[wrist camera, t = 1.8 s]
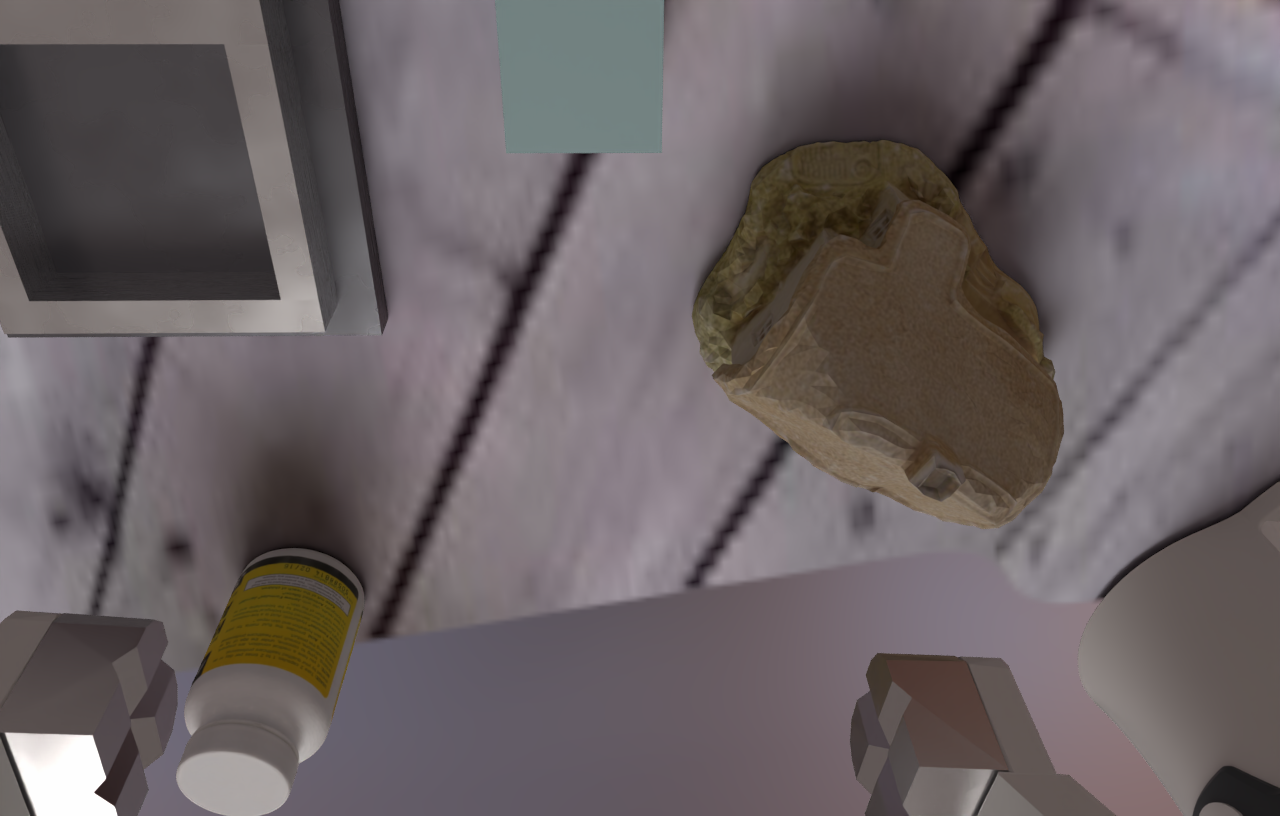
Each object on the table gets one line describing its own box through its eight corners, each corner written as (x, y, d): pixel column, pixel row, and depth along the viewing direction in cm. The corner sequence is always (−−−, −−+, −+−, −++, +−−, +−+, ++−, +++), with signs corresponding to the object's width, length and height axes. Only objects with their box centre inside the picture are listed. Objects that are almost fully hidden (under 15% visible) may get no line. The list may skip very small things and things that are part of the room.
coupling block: (656, -124, 29) (665, -81, 23) (653, 72, 32) (661, 152, 26) (514, -124, 29) (489, -81, 23) (526, 72, 32) (506, 153, 26)
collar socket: (327, -75, 29) (298, -54, 27) (388, 318, 37) (370, 365, 34) (-129, -76, 29) (-204, -55, 26) (24, 320, 36) (-22, 368, 34)
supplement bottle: (228, 542, 43) (137, 736, 35) (358, 543, 43) (298, 736, 35) (252, 632, 46) (174, 830, 38) (374, 632, 46) (322, 829, 38)
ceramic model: (627, 328, 37) (630, 503, 29) (830, 78, 32) (904, 204, 24) (904, 497, 42) (974, 689, 34) (1118, 302, 37) (1261, 471, 29)
